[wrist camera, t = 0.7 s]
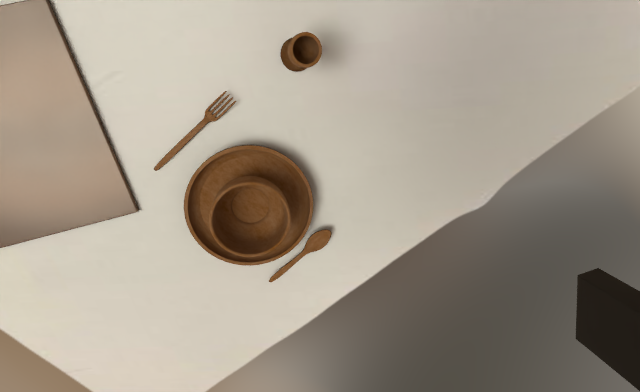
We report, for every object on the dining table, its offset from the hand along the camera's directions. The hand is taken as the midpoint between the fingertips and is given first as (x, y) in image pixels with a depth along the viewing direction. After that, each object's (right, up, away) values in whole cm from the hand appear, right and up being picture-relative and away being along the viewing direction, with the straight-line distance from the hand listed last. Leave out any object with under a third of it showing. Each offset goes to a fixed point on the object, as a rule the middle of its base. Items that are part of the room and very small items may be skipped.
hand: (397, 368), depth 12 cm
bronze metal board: (-28, +11, +18) cm, 35 cm away
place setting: (-7, +8, +24) cm, 26 cm away
